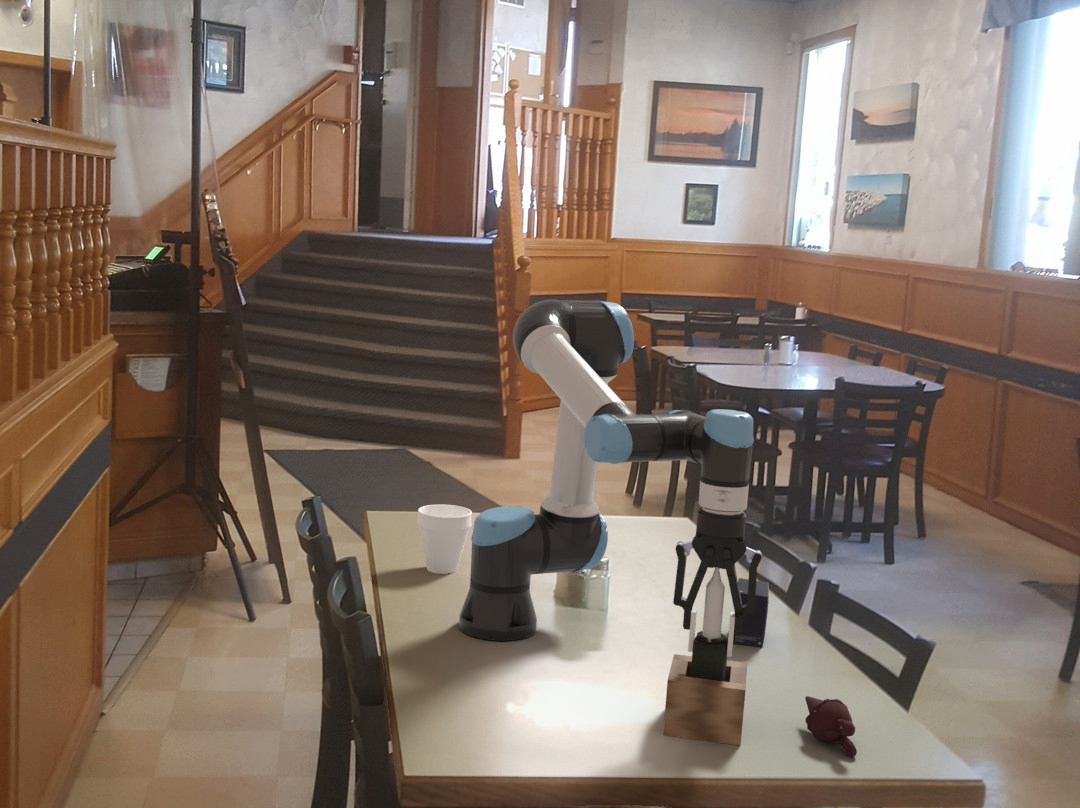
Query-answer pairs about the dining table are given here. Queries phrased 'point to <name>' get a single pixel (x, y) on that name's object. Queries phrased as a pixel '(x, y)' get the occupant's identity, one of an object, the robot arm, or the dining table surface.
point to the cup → (443, 535)
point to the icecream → (831, 722)
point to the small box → (753, 615)
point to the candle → (711, 635)
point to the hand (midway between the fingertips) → (710, 651)
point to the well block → (705, 703)
